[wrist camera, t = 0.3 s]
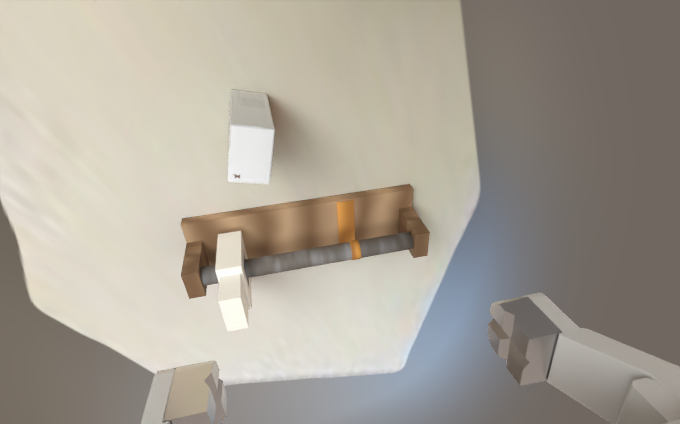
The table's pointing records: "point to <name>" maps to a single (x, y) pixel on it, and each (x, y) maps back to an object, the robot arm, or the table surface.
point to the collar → (233, 280)
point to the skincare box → (250, 138)
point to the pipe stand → (306, 234)
